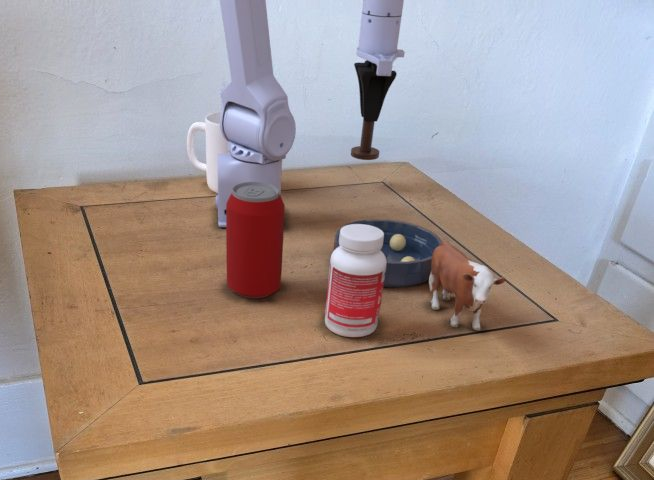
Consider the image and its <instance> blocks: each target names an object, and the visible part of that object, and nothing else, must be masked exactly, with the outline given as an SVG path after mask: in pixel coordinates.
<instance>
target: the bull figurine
mask: <svg viewBox="0 0 654 480" xmlns="http://www.w3.org/2000/svg"><path fill="white" fill-rule="evenodd" d="M431 269H432V270H431V273H430V277H429V280H428V285H429V291H430V292H431V293H432V299H431V300H430V304H431V309H432V310H434V311H438V310H440V309H441V307H440V301H439V290H440V288H441V287H440V286H442V288H443V290H442V292H441V293H442V294H441V295H442V300H444V301H446V302H447V301H450V300H451V298H454V297H455V303H454V313H453V315H452V317H450V327H451V328H458V327H459V318H460V317H459V316H460V315H461V313H462V312H463V307H465V308H466V310H467V311H468V312H472V313H473V320H472V322H471V324H472V326H471V327H472V328H471V329H472V330H473V331H477V332H478V331H481V330H482V327H481V323H480V316H481V313H482V305H485V304H487V301H488V296H489V294H490V292H491V290H492V287H493V285H496V286H497V285H498V286H499V285H503V284H504V283H505V282H506V281H507V280H506V278H505V277H503V276H501V277H494V274H493V273H492V272H491V271H490V269H489V267H487V266H486V265H483V264H480V263H477V262H475V261H473V260H472V259H471V258H469V257H468V256H467V255H466V254H465V253H464V252H463V251H461V250H460V249H458V248H457V247H456V246H454V245H452V244H450V243H449V242H448V241H442V243H441V244H440V245H439V246H438V247H437V248H435V250H434V252H433V256H432V263H431Z"/></svg>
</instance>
